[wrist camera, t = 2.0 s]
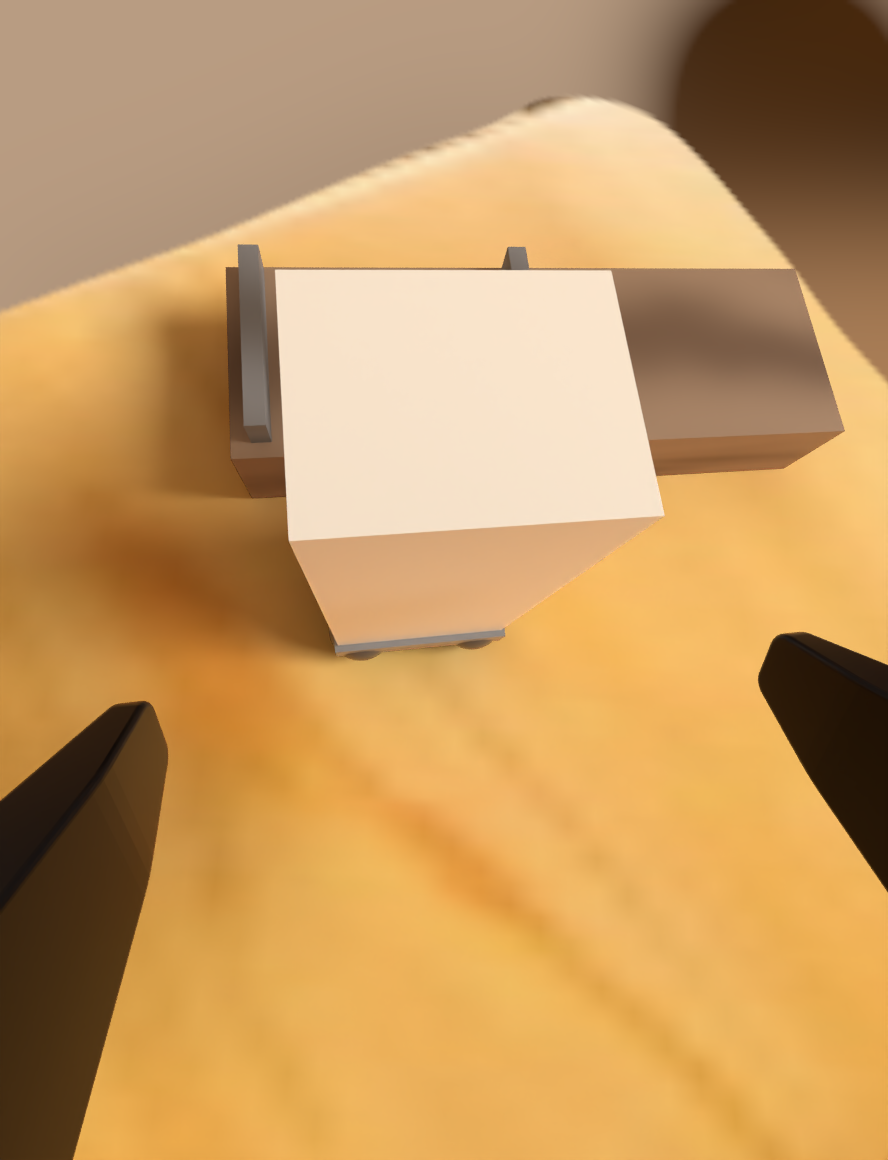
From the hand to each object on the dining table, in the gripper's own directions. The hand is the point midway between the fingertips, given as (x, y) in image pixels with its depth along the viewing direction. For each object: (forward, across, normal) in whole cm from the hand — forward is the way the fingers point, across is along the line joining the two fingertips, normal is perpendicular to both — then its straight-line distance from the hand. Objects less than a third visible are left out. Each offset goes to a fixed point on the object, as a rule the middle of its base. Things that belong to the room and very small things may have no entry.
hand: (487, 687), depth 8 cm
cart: (+10, 0, +5) cm, 11 cm away
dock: (+15, -5, 0) cm, 16 cm away
